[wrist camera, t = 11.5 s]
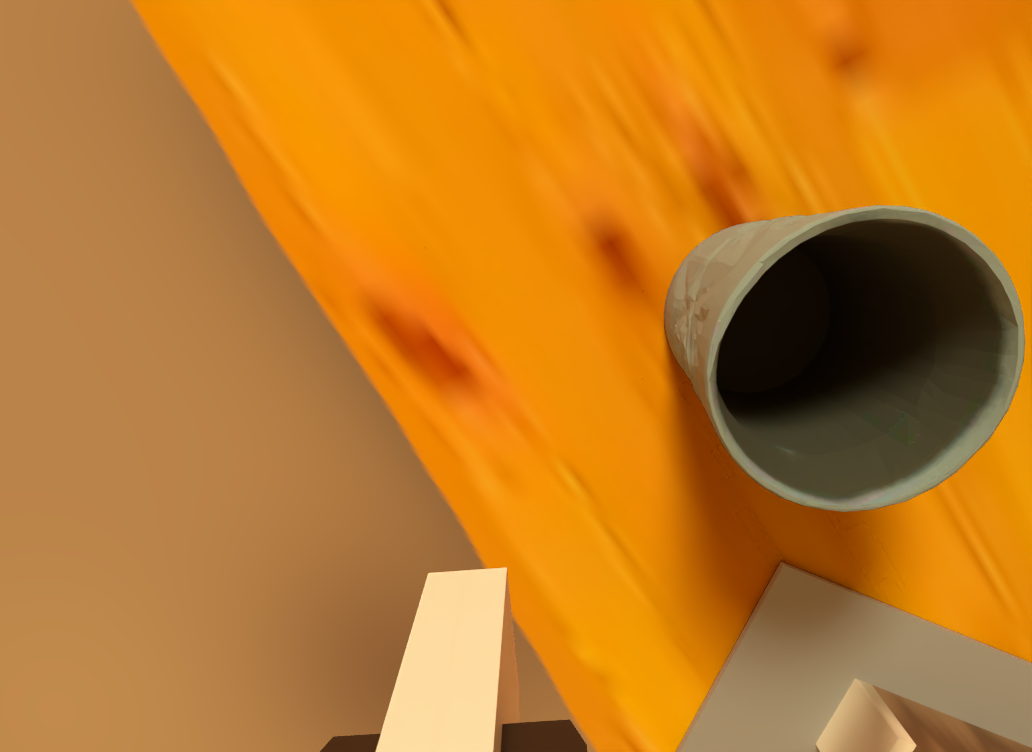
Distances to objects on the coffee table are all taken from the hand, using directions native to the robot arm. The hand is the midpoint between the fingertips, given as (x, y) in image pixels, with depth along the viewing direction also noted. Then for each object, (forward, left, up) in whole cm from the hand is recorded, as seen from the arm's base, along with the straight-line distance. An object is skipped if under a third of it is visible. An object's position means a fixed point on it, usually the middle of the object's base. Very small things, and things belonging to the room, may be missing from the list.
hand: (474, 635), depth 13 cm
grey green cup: (-12, -2, -22) cm, 25 cm away
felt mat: (-20, +22, -22) cm, 37 cm away
